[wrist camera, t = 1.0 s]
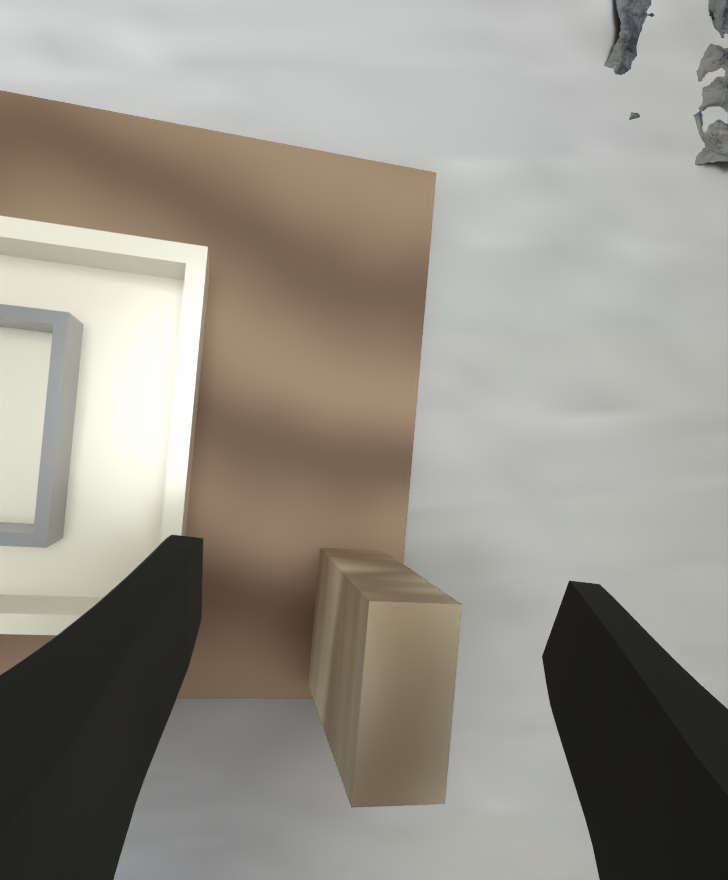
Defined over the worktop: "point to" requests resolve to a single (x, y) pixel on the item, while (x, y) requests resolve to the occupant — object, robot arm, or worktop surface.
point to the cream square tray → (92, 411)
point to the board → (259, 354)
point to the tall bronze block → (384, 676)
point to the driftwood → (722, 92)
